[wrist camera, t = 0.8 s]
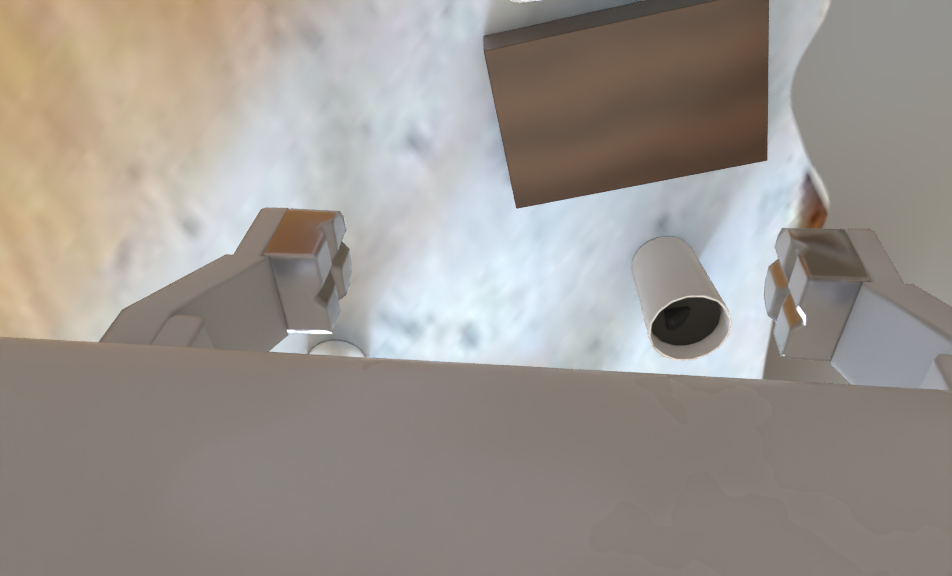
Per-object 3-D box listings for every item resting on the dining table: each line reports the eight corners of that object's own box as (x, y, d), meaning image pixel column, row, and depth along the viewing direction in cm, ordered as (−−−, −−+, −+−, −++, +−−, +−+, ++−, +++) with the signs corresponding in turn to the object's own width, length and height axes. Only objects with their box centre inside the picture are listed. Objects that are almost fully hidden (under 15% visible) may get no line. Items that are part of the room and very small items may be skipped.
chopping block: (483, 36, 55) (483, 50, 52) (750, -24, 53) (769, -12, 50) (514, 187, 62) (516, 208, 59) (751, 140, 60) (767, 160, 57)
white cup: (630, 298, 69) (651, 366, 60) (623, 239, 65) (644, 303, 57) (701, 286, 68) (732, 353, 60) (697, 225, 64) (731, 288, 56)
